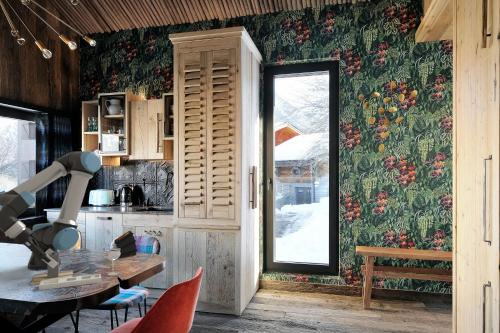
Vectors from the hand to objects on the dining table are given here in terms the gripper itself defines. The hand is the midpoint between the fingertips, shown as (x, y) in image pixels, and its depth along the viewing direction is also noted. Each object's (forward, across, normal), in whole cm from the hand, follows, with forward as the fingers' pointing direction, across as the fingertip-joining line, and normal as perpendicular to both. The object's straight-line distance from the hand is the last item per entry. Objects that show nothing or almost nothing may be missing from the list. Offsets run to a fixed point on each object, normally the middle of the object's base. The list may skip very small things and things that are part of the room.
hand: (56, 262), depth 156 cm
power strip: (+10, +13, -1) cm, 16 cm away
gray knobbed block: (+4, 0, -6) cm, 7 cm away
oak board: (+4, 0, -6) cm, 8 cm away
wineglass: (+23, +3, +12) cm, 26 cm away
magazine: (+30, -31, +19) cm, 47 cm away
